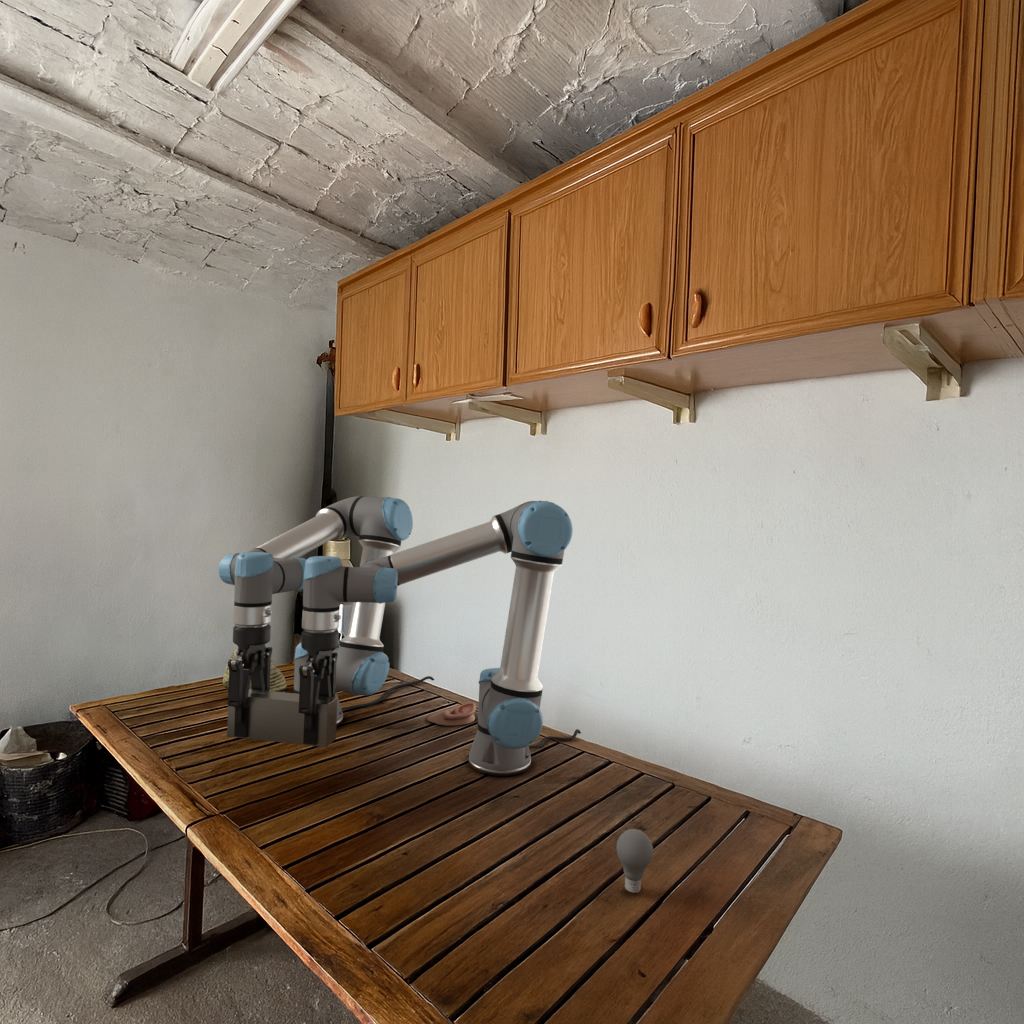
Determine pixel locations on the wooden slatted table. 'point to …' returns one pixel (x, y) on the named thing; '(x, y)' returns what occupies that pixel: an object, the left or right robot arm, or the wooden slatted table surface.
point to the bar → (285, 718)
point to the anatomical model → (455, 715)
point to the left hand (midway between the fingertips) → (248, 731)
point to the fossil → (275, 677)
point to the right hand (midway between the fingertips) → (316, 738)
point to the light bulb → (634, 857)
